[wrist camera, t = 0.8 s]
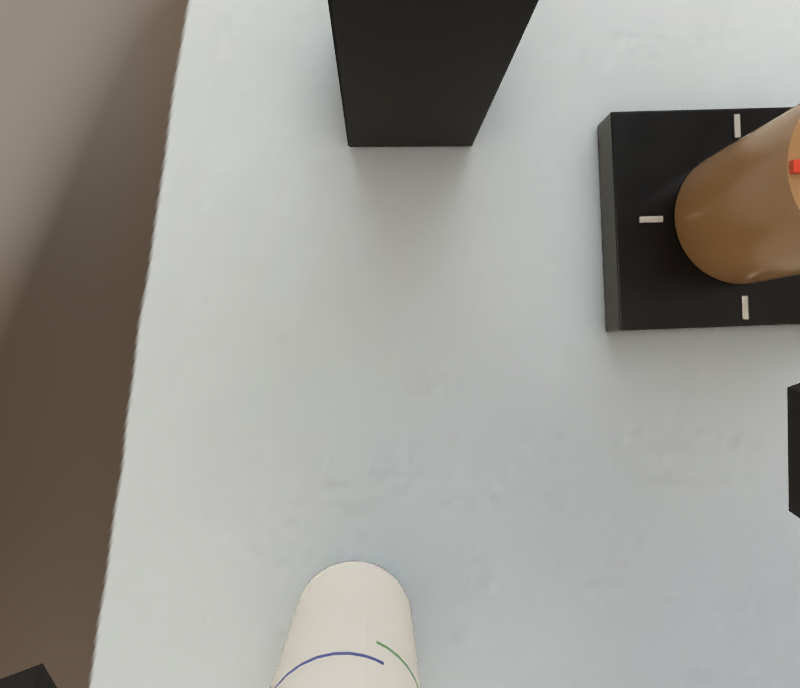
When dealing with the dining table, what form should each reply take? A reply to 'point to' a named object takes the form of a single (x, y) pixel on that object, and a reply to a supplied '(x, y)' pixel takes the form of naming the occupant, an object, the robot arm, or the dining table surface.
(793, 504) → the robot arm
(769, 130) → the tan pointer knob
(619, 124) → the control knob panel
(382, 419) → the dining table surface
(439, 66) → the tissue box
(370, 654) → the cylindrical container
